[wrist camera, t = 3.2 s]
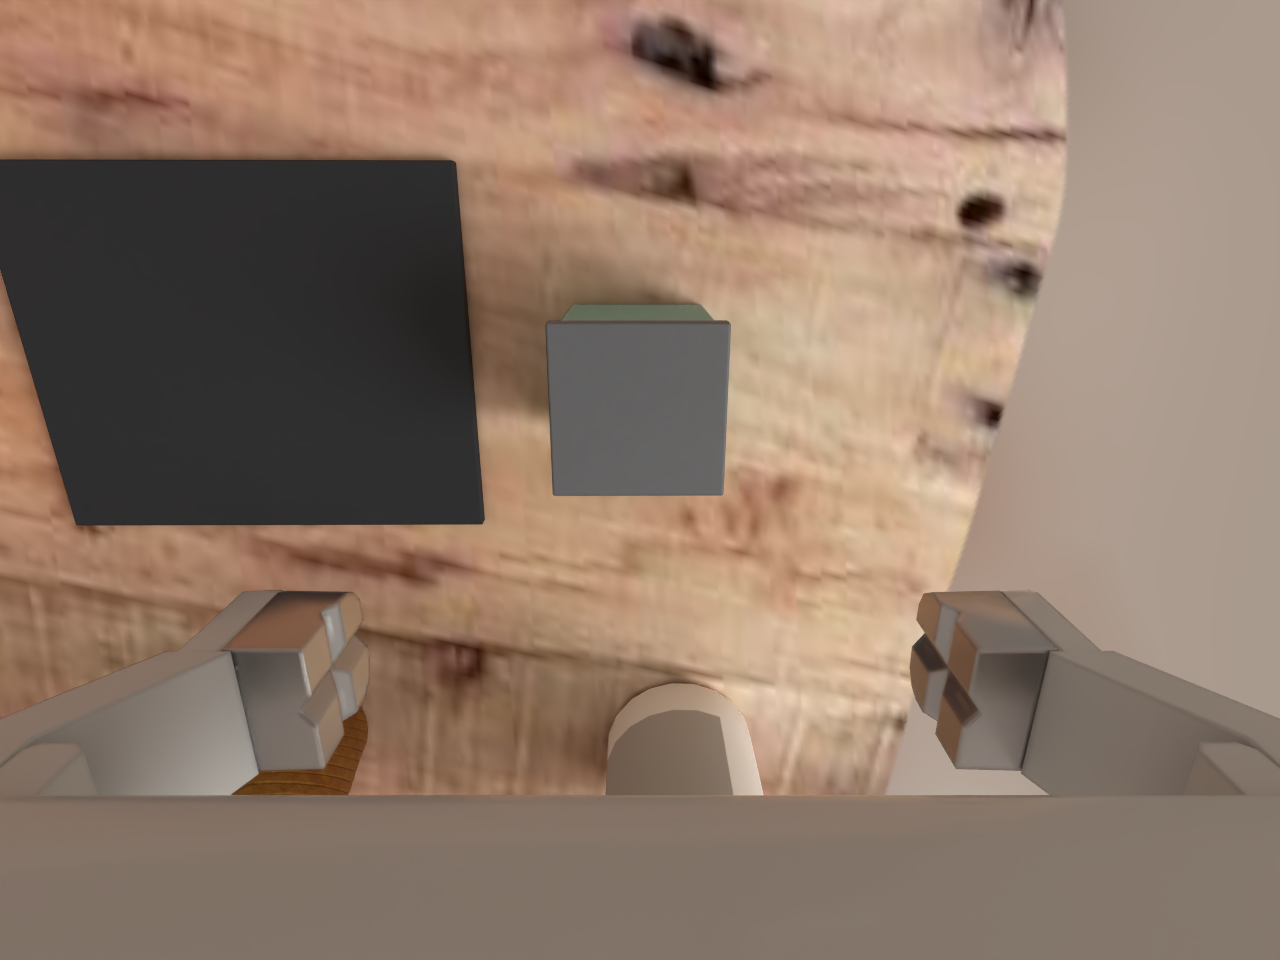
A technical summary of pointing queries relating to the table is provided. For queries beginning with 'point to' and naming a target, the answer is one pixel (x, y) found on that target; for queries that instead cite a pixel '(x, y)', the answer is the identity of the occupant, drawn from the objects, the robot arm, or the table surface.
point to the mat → (247, 338)
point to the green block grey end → (638, 400)
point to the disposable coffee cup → (317, 780)
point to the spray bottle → (681, 745)
